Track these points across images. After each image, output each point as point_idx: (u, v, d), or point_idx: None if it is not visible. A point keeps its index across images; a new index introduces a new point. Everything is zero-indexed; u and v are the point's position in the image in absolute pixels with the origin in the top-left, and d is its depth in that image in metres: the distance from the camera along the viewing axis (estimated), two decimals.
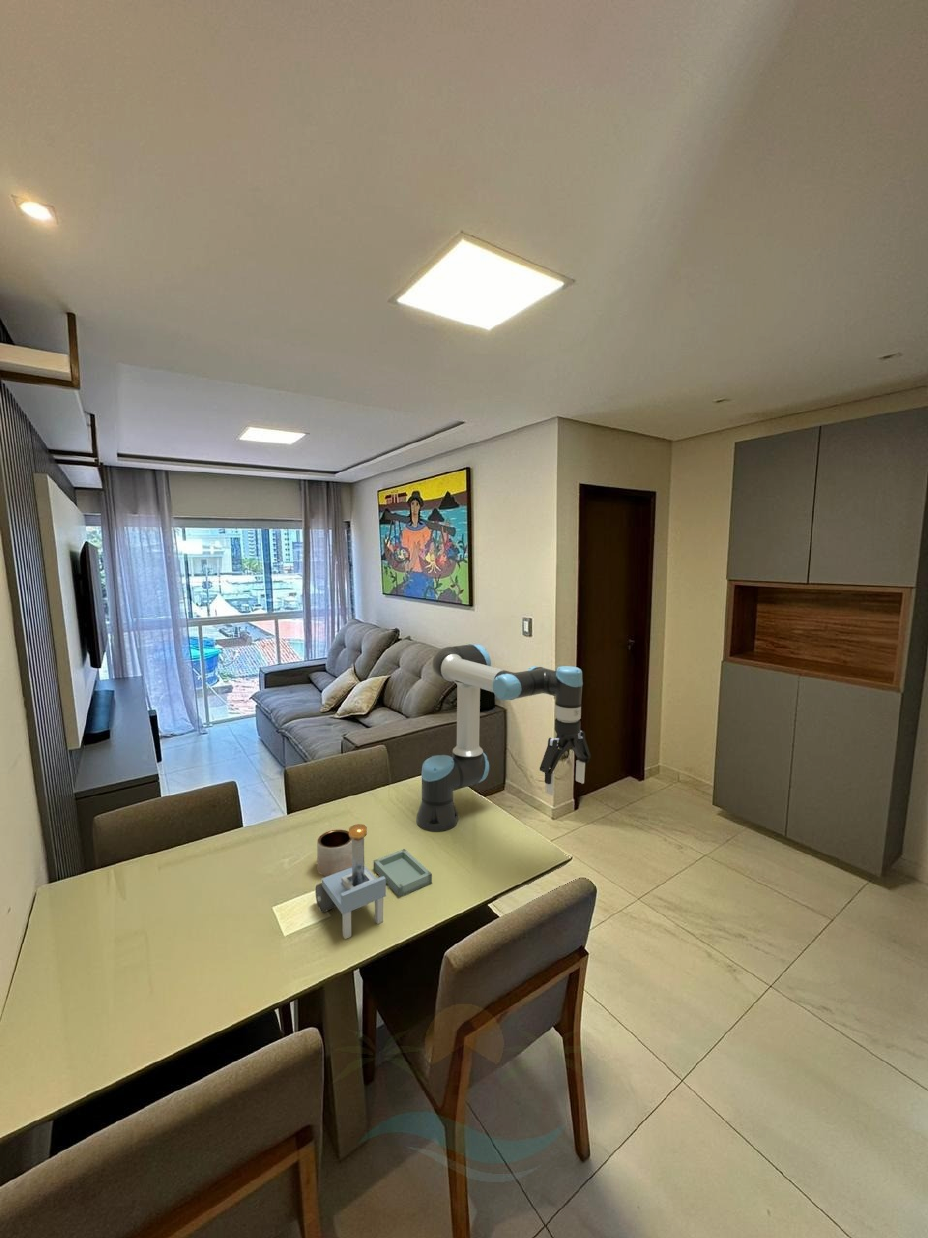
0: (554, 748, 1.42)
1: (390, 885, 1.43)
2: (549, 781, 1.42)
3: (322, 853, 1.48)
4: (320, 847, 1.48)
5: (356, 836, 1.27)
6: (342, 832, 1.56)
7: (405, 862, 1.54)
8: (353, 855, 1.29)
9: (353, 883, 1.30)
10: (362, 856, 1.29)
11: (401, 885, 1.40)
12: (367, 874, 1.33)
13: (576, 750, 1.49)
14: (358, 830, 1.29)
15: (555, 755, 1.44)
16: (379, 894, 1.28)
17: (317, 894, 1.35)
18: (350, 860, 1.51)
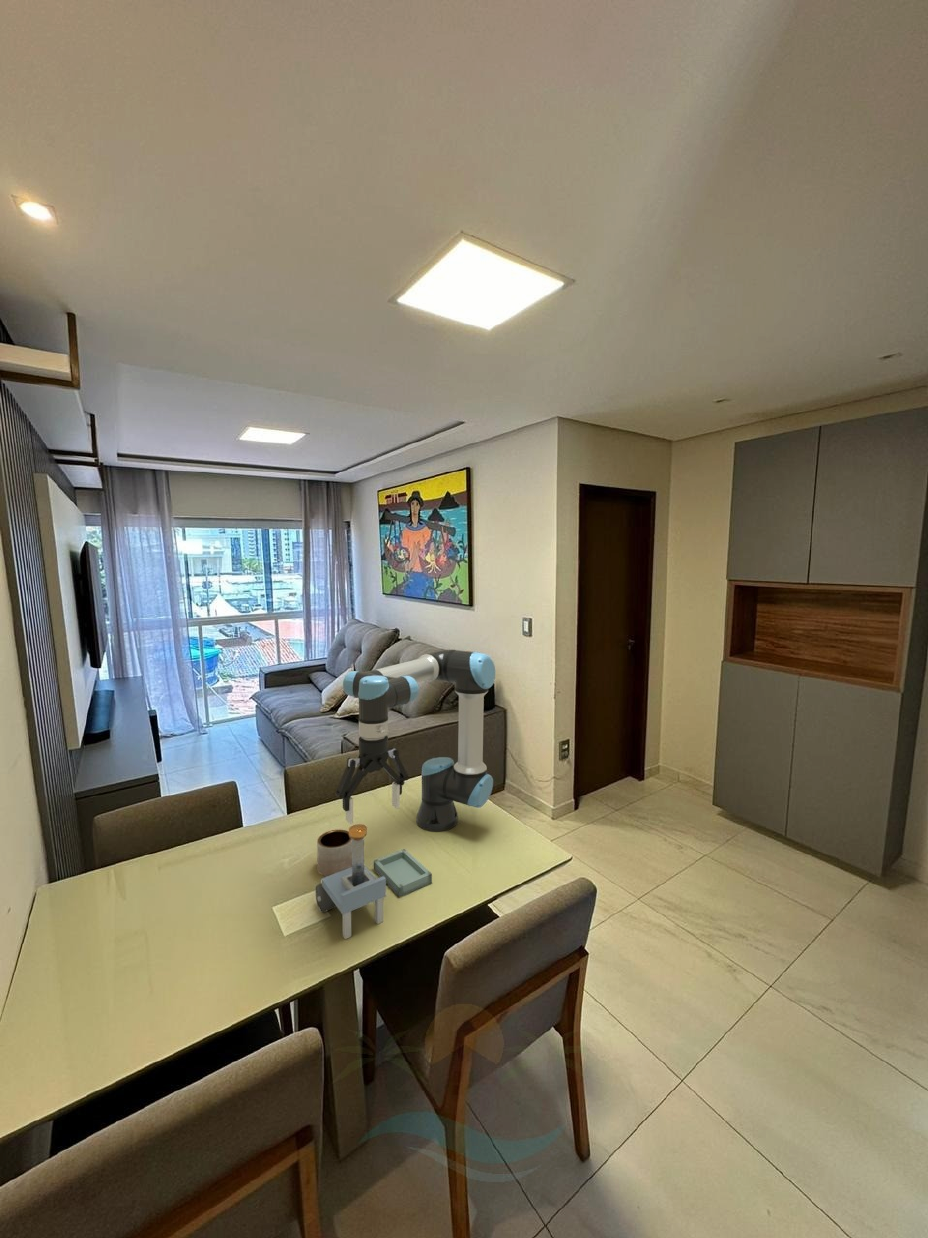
0: (351, 770, 1.24)
1: (390, 885, 1.43)
2: (346, 807, 1.24)
3: (322, 853, 1.48)
4: (320, 847, 1.48)
5: (356, 836, 1.27)
6: (342, 832, 1.56)
7: (405, 862, 1.54)
8: (353, 855, 1.29)
9: (353, 883, 1.30)
10: (362, 856, 1.29)
11: (401, 885, 1.40)
12: (367, 874, 1.33)
13: (387, 771, 1.31)
14: (358, 830, 1.29)
15: (355, 777, 1.26)
16: (379, 894, 1.28)
17: (317, 894, 1.35)
18: (350, 860, 1.51)
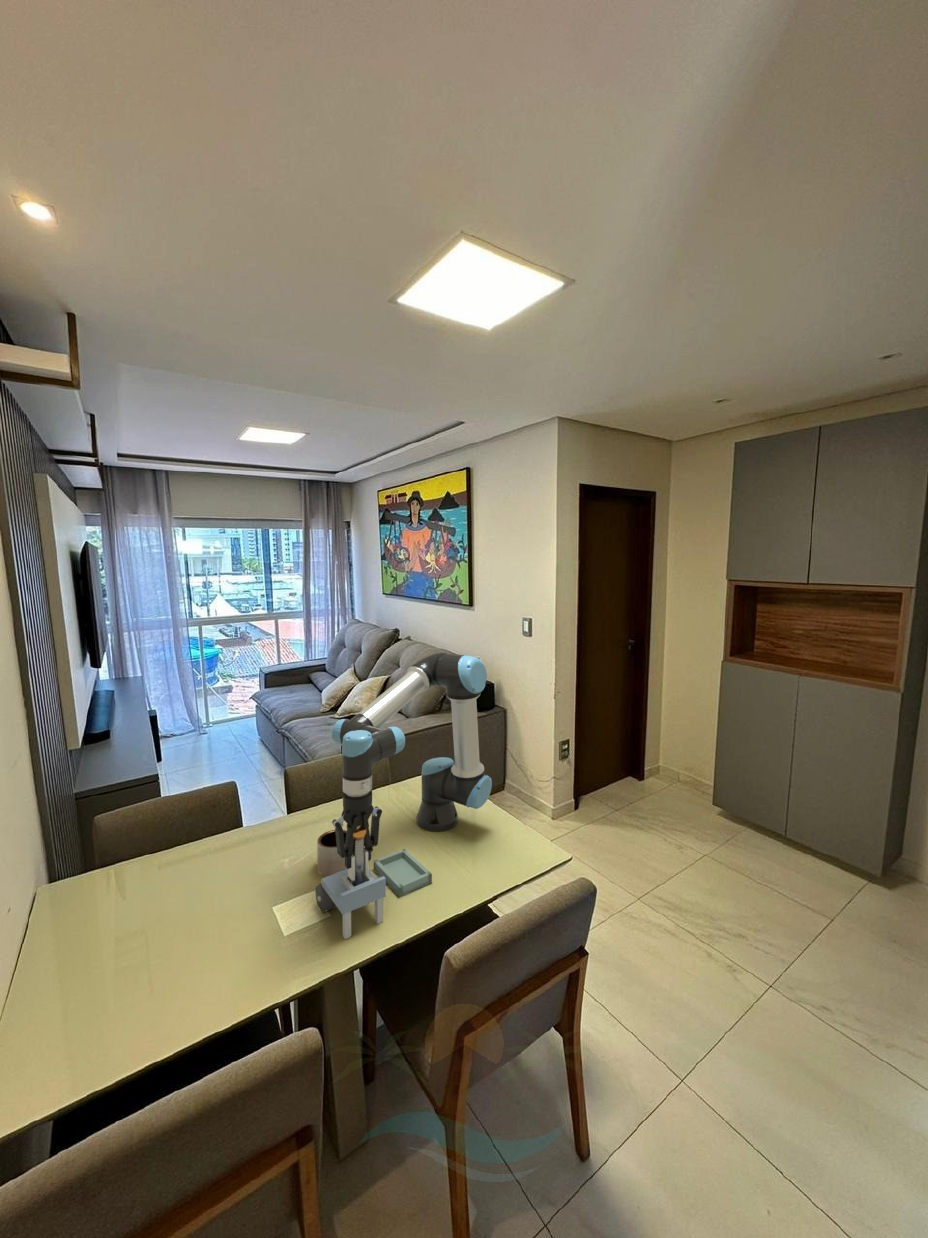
0: (340, 831, 1.25)
1: (390, 885, 1.43)
2: (348, 865, 1.28)
3: (322, 853, 1.48)
4: (320, 847, 1.48)
5: (356, 836, 1.27)
6: None
7: (405, 862, 1.54)
8: None
9: (353, 883, 1.30)
10: (362, 856, 1.29)
11: (401, 885, 1.40)
12: None
13: None
14: (358, 830, 1.29)
15: (348, 836, 1.28)
16: (379, 894, 1.28)
17: (317, 894, 1.35)
18: None
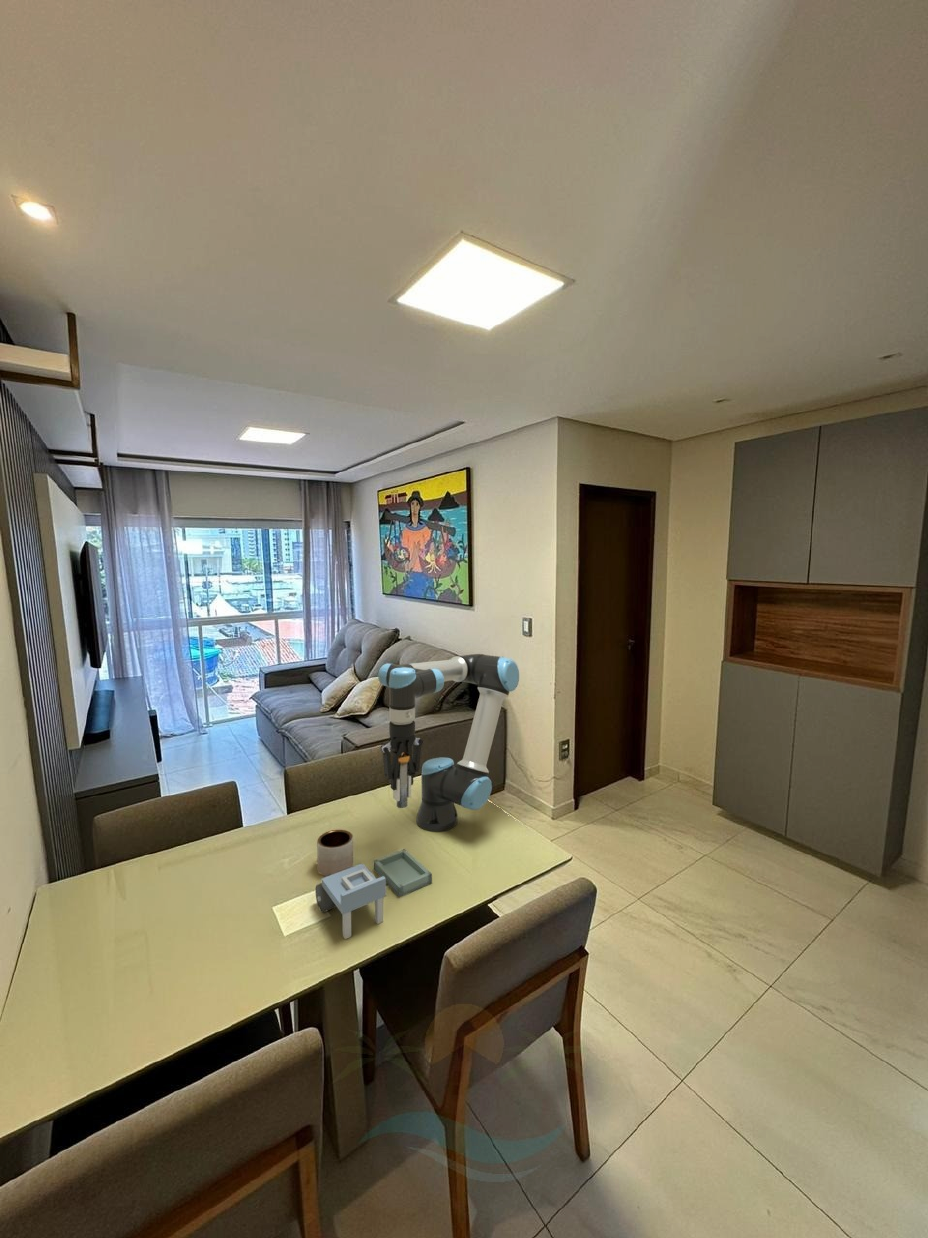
0: (387, 755, 1.41)
1: (390, 885, 1.43)
2: (394, 787, 1.44)
3: (322, 853, 1.48)
4: (320, 847, 1.48)
5: (401, 760, 1.43)
6: (342, 832, 1.56)
7: (405, 862, 1.54)
8: (398, 778, 1.45)
9: (398, 804, 1.45)
10: (406, 779, 1.45)
11: (401, 885, 1.40)
12: (367, 874, 1.33)
13: None
14: (403, 756, 1.44)
15: (394, 760, 1.43)
16: (379, 894, 1.28)
17: (317, 894, 1.35)
18: (350, 860, 1.51)
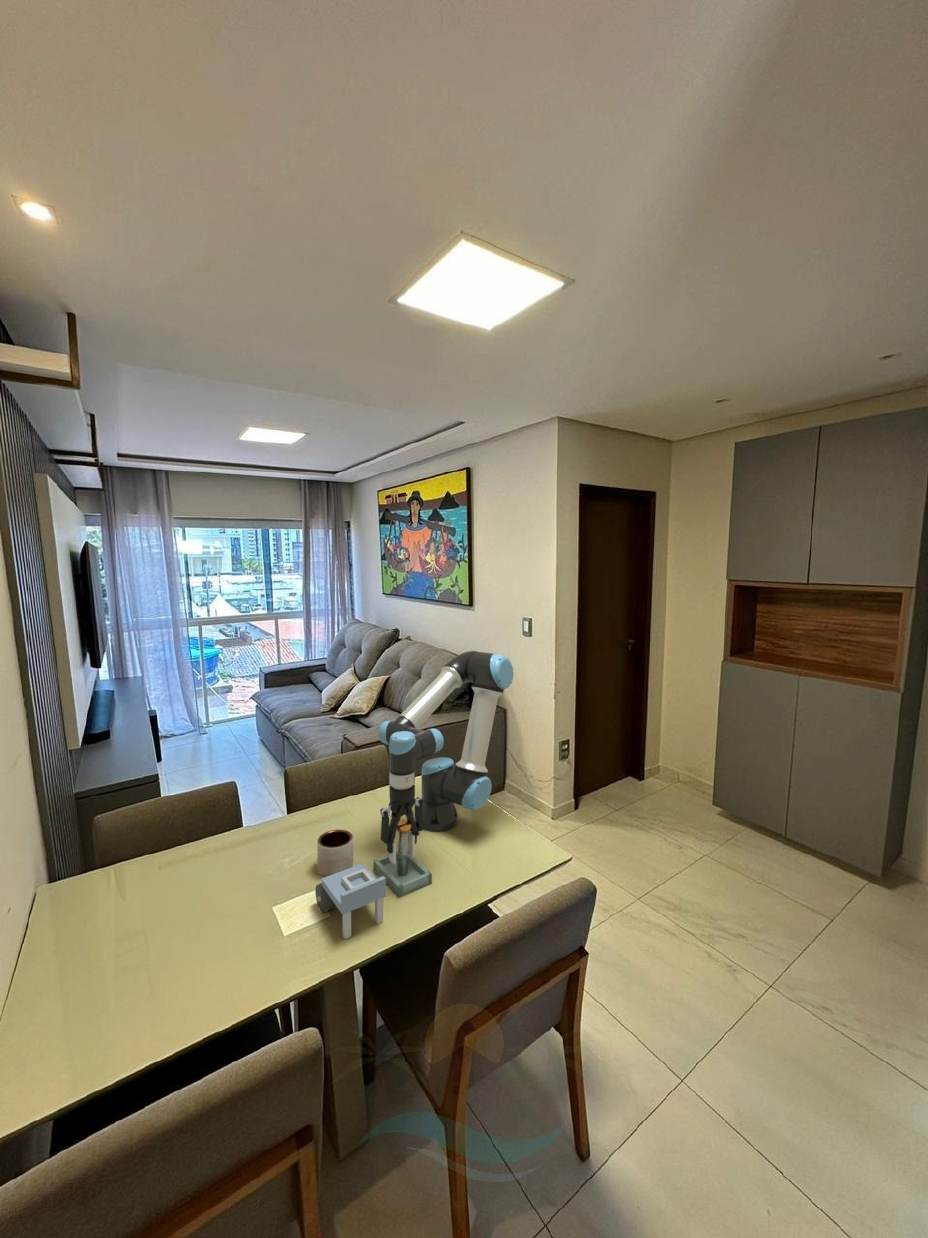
0: (386, 819, 1.43)
1: (390, 885, 1.43)
2: (390, 850, 1.45)
3: (322, 853, 1.48)
4: (320, 847, 1.48)
5: (403, 830, 1.46)
6: (342, 832, 1.56)
7: None
8: (399, 847, 1.47)
9: (398, 871, 1.48)
10: (407, 848, 1.48)
11: (401, 885, 1.40)
12: (367, 874, 1.33)
13: (409, 818, 1.48)
14: (404, 824, 1.47)
15: (392, 824, 1.45)
16: (379, 894, 1.28)
17: (317, 894, 1.35)
18: (350, 860, 1.51)
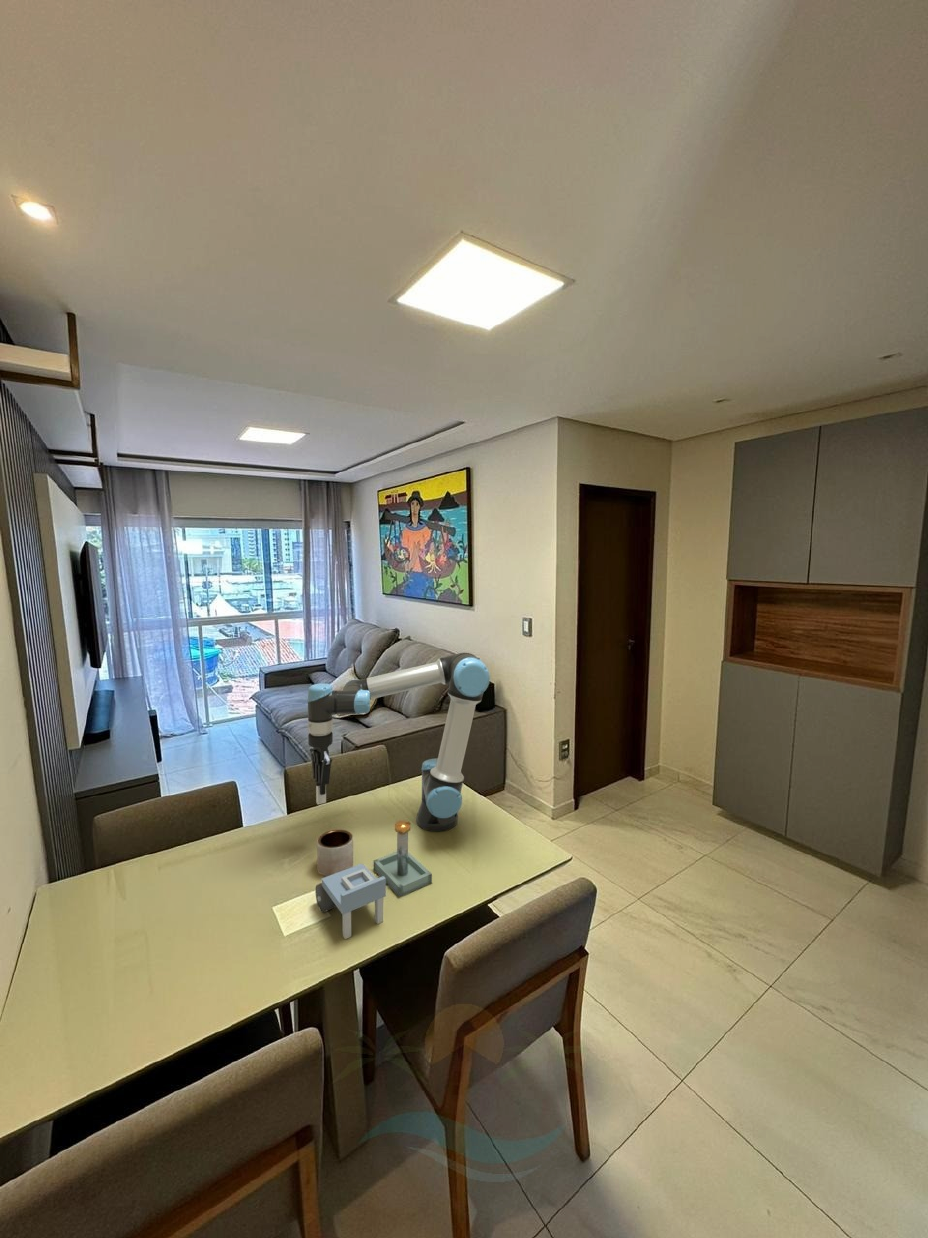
0: (311, 756, 1.62)
1: (390, 885, 1.43)
2: None
3: (322, 853, 1.48)
4: (320, 847, 1.48)
5: (402, 830, 1.45)
6: (342, 832, 1.56)
7: None
8: (398, 847, 1.47)
9: (398, 872, 1.48)
10: (406, 848, 1.47)
11: (401, 885, 1.40)
12: (367, 874, 1.33)
13: None
14: (403, 825, 1.47)
15: None
16: (379, 894, 1.28)
17: (317, 894, 1.35)
18: (350, 860, 1.51)
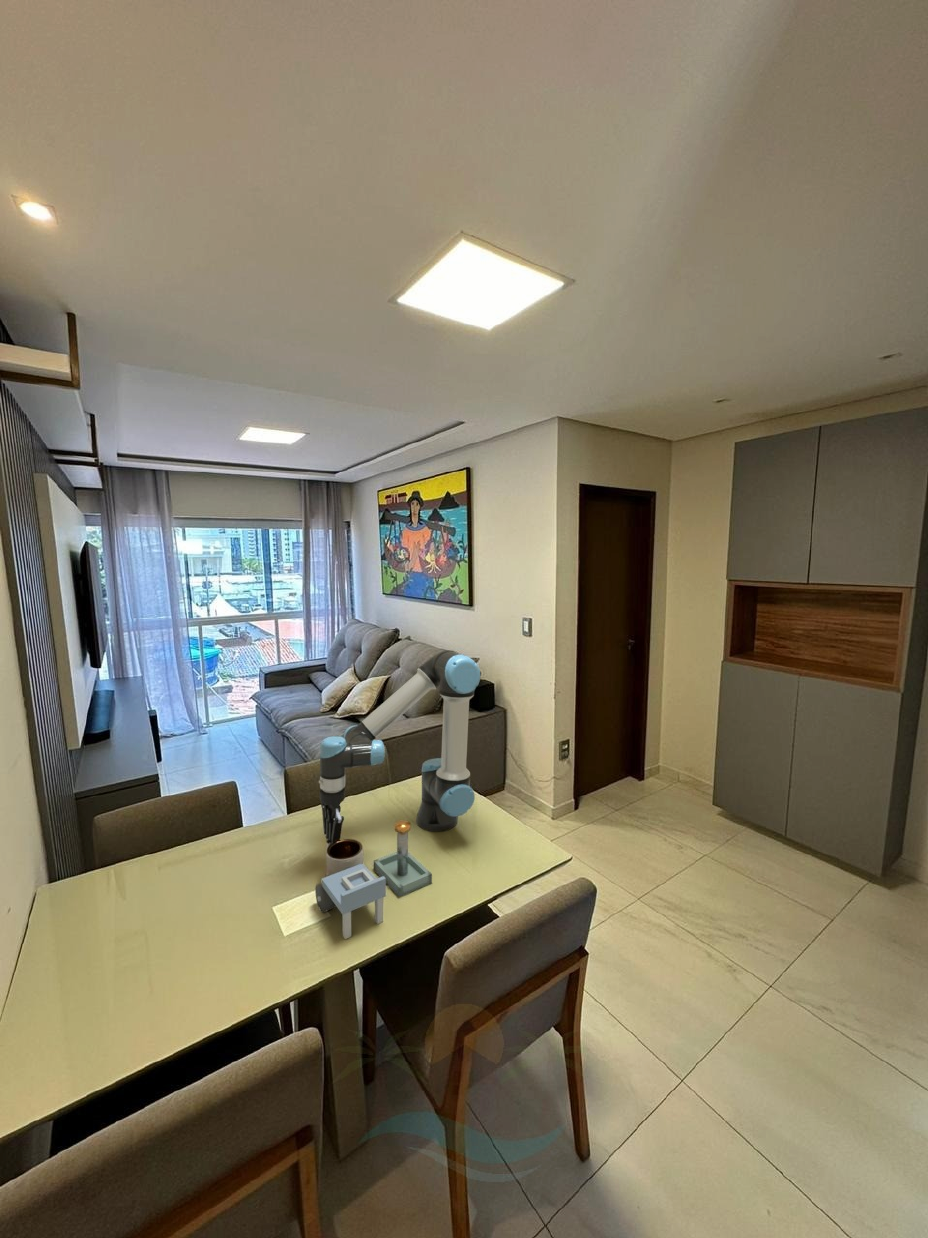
0: (322, 810, 1.55)
1: (390, 885, 1.43)
2: None
3: (332, 865, 1.42)
4: (330, 859, 1.42)
5: (402, 830, 1.45)
6: (350, 841, 1.51)
7: None
8: (398, 847, 1.47)
9: (398, 872, 1.48)
10: (406, 848, 1.47)
11: (401, 885, 1.40)
12: (367, 874, 1.33)
13: None
14: (403, 825, 1.47)
15: None
16: (379, 894, 1.28)
17: (317, 894, 1.35)
18: None
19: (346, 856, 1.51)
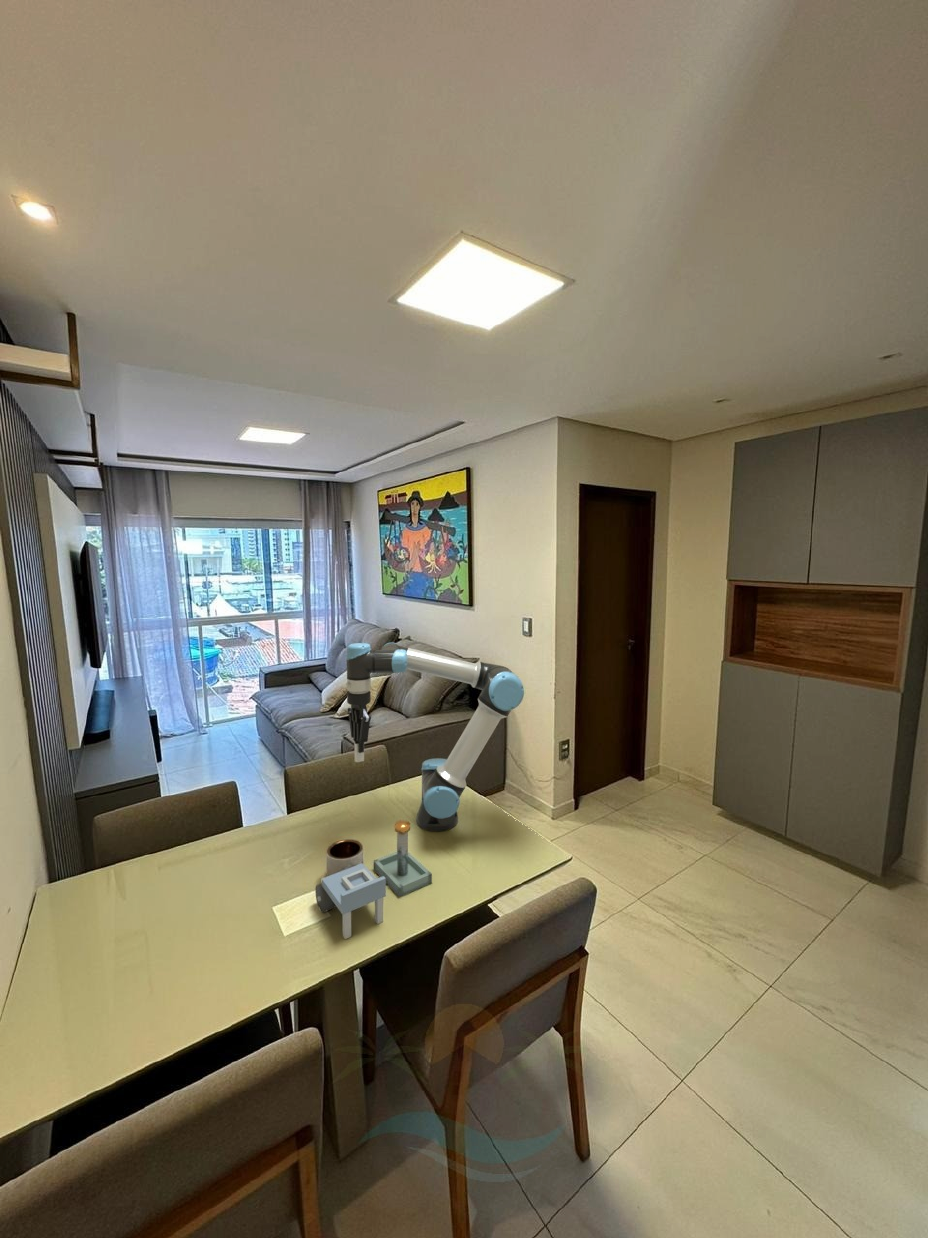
0: (349, 715, 1.64)
1: (390, 885, 1.43)
2: None
3: (332, 865, 1.42)
4: (330, 859, 1.42)
5: (401, 830, 1.45)
6: (351, 842, 1.51)
7: None
8: (398, 847, 1.47)
9: (398, 872, 1.48)
10: (406, 848, 1.47)
11: (401, 885, 1.40)
12: (367, 874, 1.33)
13: None
14: (403, 825, 1.47)
15: None
16: (379, 894, 1.28)
17: (317, 894, 1.35)
18: None
19: (347, 857, 1.51)
